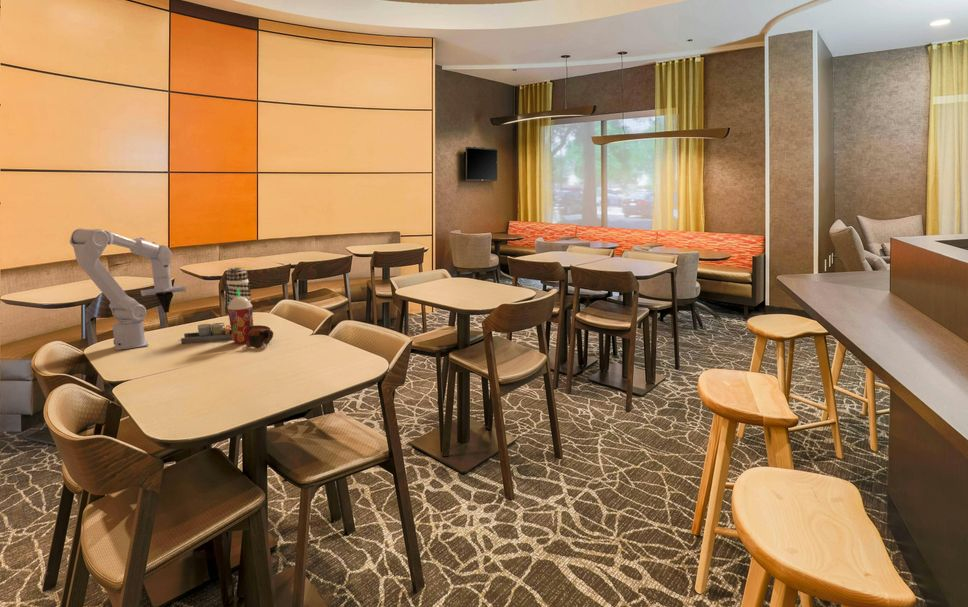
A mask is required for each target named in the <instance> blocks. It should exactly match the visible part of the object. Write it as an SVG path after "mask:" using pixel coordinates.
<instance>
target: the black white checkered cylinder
mask: <svg viewBox="0 0 968 607" xmlns="http://www.w3.org/2000/svg"><path fill="white" fill-rule="evenodd" d="M248 272H249V271H248V270H246V269H245V268H244V267H231V268H228V269H227V270H226V272H225V274H226V286H225V290H226V291H225V293H226V294H227V295H226V301H227V303H228V304H229V303H230V301H231V300H232V299H233V298H235V297H238V291H237V289H239V291H240V296H241V297H245V298H247V299H248V300H249V301H250V302H251V301H252V299H251V298H250V297H251V296H252V293H250V292H252V290H251V289H249V288H251V284H250V283H251V281H249V278H248ZM253 326H255V325H254V324H253ZM230 329H231V325H230Z"/></svg>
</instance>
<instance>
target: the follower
mask: <svg viewBox="0 0 968 607" xmlns="http://www.w3.org/2000/svg"><path fill="white" fill-rule="evenodd" d="M230 326H231V325H230V324H228V325H227V324H226V325H225V334H231V333H230V330H231V328H230Z"/></svg>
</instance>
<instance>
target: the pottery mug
mask: <svg viewBox="0 0 968 607" xmlns="http://www.w3.org/2000/svg"><path fill="white" fill-rule="evenodd" d="M247 333H248V335H249V341H247V342H246V344H245V346H246V348H263V343H264V345H269V344H270V342H271V341H272V339H273V337H274V332H273V330H272V329H271V328H270V327H269V326H267V325H261V324H259V325H257V324H256V325H254V326H250V327H249V330H248V331H247V332H246V334H247Z"/></svg>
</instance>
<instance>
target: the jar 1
mask: <svg viewBox="0 0 968 607" xmlns="http://www.w3.org/2000/svg"><path fill="white" fill-rule="evenodd" d="M197 332H198V333H199V337H200V336H212V328H211V323H202V324H201V323H200V324H198V325H197Z"/></svg>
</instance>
